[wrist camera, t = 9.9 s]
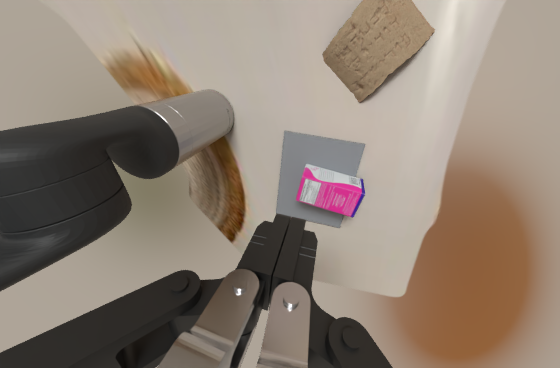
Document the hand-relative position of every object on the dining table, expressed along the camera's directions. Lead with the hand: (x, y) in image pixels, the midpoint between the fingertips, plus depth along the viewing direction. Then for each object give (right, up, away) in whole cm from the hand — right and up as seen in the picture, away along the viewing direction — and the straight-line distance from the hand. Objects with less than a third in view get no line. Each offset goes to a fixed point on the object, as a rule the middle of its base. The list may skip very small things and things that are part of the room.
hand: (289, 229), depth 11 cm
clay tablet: (+14, +23, +22) cm, 35 cm away
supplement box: (+15, -1, +30) cm, 34 cm away
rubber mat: (+7, +3, +35) cm, 35 cm away
